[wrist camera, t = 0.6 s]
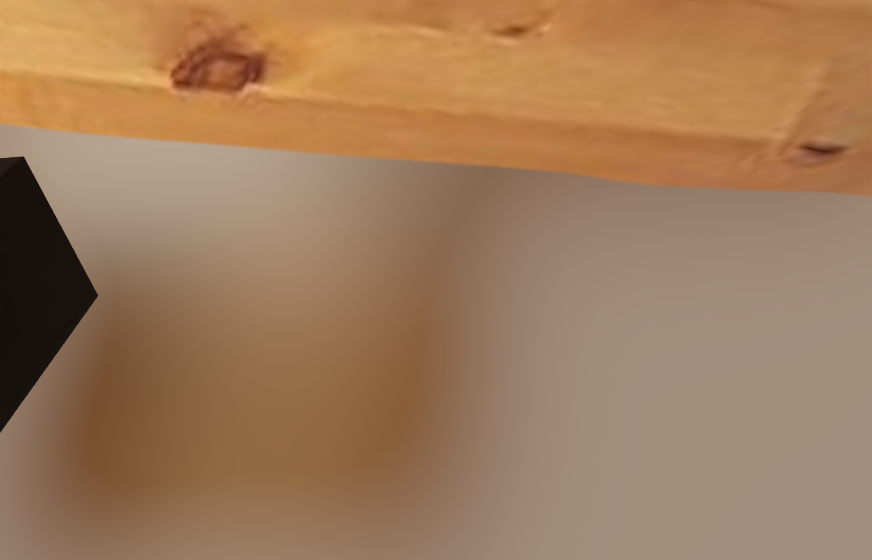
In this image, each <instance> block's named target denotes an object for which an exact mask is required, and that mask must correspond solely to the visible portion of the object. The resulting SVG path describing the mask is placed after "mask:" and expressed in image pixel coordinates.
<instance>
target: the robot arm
mask: <svg viewBox="0 0 872 560" xmlns="http://www.w3.org/2000/svg"><path fill="white" fill-rule="evenodd" d="M97 297H98V295H97V293H96V291H95V289H94V287H93V285H92V283H91V281H90V279H89V278H88V276H87V274H86V272H85V270H84V268H83V266H82V265H81V263H80V261H79V259H78V257H77V255H76V253H75V251H74V250H73V248H72V246H71V244H70V242H69V240H68V238H67V236H66V235H65V233H64V231H63V229H62V227H61V225H60V223H59V222H58V220H57V218H56V216H55V214H54V212H53V210H52V208H51V207H50V205H49V203H48V201H47V199H46V197H45V195H44V194H43V192H42V190H41V188H40V186H39V184H38V182H37V180H36V179H35V177H34V175H33V173H32V171H31V169H30V167H29V165H28V164H27V162H26V160H25V158H24V157H11V158H0V432H1V431H2V429H3V428H4V427H5V425H6V424H7V423H8V421H9V420H10V418H11V417H12V415H13V414H14V413H15V411H16V410H17V409H18V407H19V405H20V404H21V403H22V402H23V400H24V399H25V397H26V396H27V395H28V393H29V392H30V390H31V389H32V388H33V386H34V385H35V383H36V382H37V381H38V379H39V378H40V376H41V375H42V374H43V372H44V371H45V369H46V368H47V367H48V365H49V364H50V362H51V361H52V360H53V358H54V357H55V355H56V354H57V353H58V351H59V350H60V348H61V347H62V346H63V344H64V343H65V341H66V340H67V339H68V337H69V336H70V334H71V333H72V332H73V330H74V329H75V327H76V326H77V325H78V323H79V322H80V320H81V319H82V317H83V316H84V315H85V313H86V312H87V310H88V309H89V308H90V306H91V305H92V304H93V302H94V301H95V299H96V298H97Z"/></svg>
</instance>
